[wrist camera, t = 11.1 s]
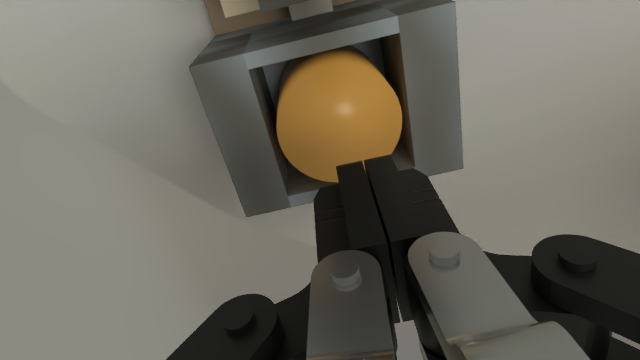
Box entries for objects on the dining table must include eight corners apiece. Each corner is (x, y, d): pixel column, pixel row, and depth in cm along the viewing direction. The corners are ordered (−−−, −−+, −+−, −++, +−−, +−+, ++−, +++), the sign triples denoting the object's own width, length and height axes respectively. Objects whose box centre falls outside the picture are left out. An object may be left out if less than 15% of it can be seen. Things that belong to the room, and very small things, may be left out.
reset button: (373, 29, 18) (393, 49, 15) (387, 129, 21) (408, 167, 17) (266, 56, 19) (260, 81, 15) (293, 151, 21) (294, 193, 17)
